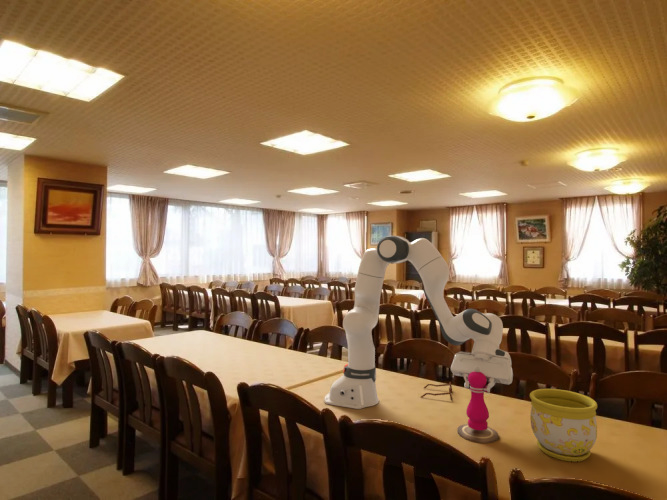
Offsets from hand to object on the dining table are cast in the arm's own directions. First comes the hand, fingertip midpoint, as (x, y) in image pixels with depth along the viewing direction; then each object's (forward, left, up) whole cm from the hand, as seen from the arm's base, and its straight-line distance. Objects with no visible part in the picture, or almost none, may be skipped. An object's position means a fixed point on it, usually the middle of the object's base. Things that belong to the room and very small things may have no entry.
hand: (476, 389), depth 135 cm
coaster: (0, 0, -15) cm, 15 cm away
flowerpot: (+24, -7, -15) cm, 29 cm away
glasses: (-12, +38, -16) cm, 43 cm away
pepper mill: (0, +1, -13) cm, 13 cm away
